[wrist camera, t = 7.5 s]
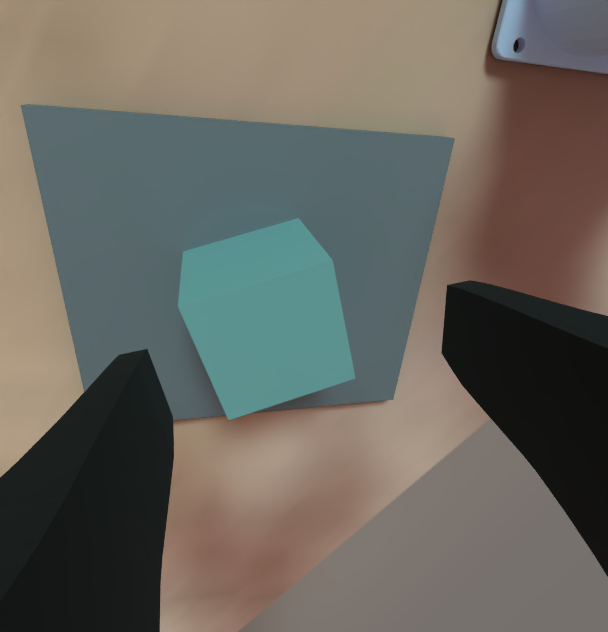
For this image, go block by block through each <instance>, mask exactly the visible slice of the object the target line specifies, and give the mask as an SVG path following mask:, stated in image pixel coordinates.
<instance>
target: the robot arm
mask: <svg viewBox="0 0 608 632" xmlns="http://www.w3.org/2000/svg"><path fill="white" fill-rule="evenodd" d="M515 40H518V43H519V44H518V49H517V51H516V52H514V49H513V45H514V43H515ZM491 49H492V54H493V56H494V57H495V58H497V59H499V60H507V61H514V62H521V63H529V64H536V65H544V66H551V67H558V68H566V69H573V70H581V71H588V72H596V73H603V74H608V0H503V1H502V5H501V9H500V13H499V17H498V21H497V25H496V29H495V33H494V37H493V41H492V48H491ZM442 354H443V356H444V358H445V359H446V361H447V363H448V364H449V366H450V367H451V369H452V371H453V372H454V374H455V375H456V377H457V378H458V380H459V381H460V382H461V384H462V385H463V386H464V388H465V389H466V390H467V391H468V392H469V394H470V395H471V396H472V397H473V398H474V399H475V401H476V402H477V403H478V404H479V405H480V406H481V408H482V409H483V410H484V411H485V412H486V413H487V414H488V416H489V417H490V418H491V419H492V420H493V421H494V422H495V424H496V425H497V426H498V427H499V428H500V429H501V430H502V432H503V433H504V434H505V435H506V436H507V437H508V438H509V440H510V441H511V442H512V443H513V444H514V445H515V446H516V448H517V449H518V450H519V451H520V452H521V453H522V454H523V455H524V457H525V458H526V459H527V461H528V462H529V463H530V464H531V465H532V467H533V468H534V469H535V470H536V472H537V473H538V474H539V476H540V477H541V479H542V480H543V481H544V483H545V484H546V485H547V487H548V488H549V490H550V491H551V492H552V494H553V495H554V497H555V498H556V500H557V501H558V502H559V504H560V505H561V506H562V508H563V509H564V511H565V512H566V514H567V515H568V517H569V518H570V520H571V521H572V523H573V524H574V526H575V527H576V528H577V530H578V532H579V533H580V535H581V536H582V538H583V539H584V541H585V542H586V543H587V545H588V546H589V548H590V549H591V551H592V552H593V554H594V555H595V557H596V559H597V560H598V562H599V563H600V565H601V567H602V568H603V570H604V571H605V573H606V575H607V576H608V316H605V315H601V314H597V313H593V312H589V311H585V310H581V309H577V308H574V307H570V306H566V305H563V304H559V303H555V302H552V301H548V300H545V299H541V298H538V297H534V296H531V295H527V294H524V293H520V292H517V291H513V290H509V289H506V288H502V287H498V286H494V285H490V284H486V283H481V282H476V281H465V282H460V283H456V284H451V285H447V293H446V305H445V318H444V330H443V342H442ZM173 459H174V435H173V415H172V413H171V410H170V407H169V405H168V402H167V399H166V397H165V394H164V391H163V389H162V386H161V384H160V381H159V378H158V376H157V373H156V370H155V368H154V365H153V362H152V360H151V357H150V354H149V352H148V349H144V350H139V351H134V352H130V353H125V354H120V355H118V356H117V357H116V358H115V359H114V360H113V361H112V362H111V363H110V364H109V365H108V366H107V368H106V369H105V370H104V371H103V372H102V373H101V374H100V375H99V376H98V378H97V379H96V380H95V381H94V382H93V383H92V384H91V385H90V387H89V388H88V389H87V390H86V391H85V392H84V393H83V394H82V395H81V396H80V398H79V399H78V400H77V401H76V402H75V403H74V404H73V405H72V406H71V407H70V409H69V410H68V411H67V412H66V413H65V414H64V415H63V416H62V417H61V418H60V419H59V420H58V421H57V422H56V423H55V424H54V425H53V426H52V427H51V428H50V430H49V431H48V432H47V433H46V434H45V435H44V436H43V437H42V438H41V439H40V440H39V441H38V442H37V443H36V444H35V445H34V446H33V447H32V448H31V449H30V450H29V451H28V452H27V453H26V454H25V455H24V456H23V457H22V458H21V459H20V460H19V461H18V462H17V463H16V464H14V465H13V466H12V467H11V468H10V469H9V470H8V471H7V472H6V473H5V474H4V475H3V476H2V477H0V632H160V581H161V568H162V555H163V547H164V538H165V530H166V521H167V513H168V504H169V496H170V487H171V478H172V469H173Z"/></svg>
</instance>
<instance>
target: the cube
mask: <svg viewBox="0 0 608 632" xmlns="http://www.w3.org/2000/svg"><path fill="white" fill-rule="evenodd" d="M178 308H179V310H180V313H181V315H182V317H183V319H184V322H185V324H186V326H187V328H188V331H189V333H190V335H191V337H192V340H193V342H194V344H195V346H196V349H197V351H198V353H199V355H200V358H201V360H202V362H203V364H204V367H205V369H206V371H207V373H208V376H209V378H210V380H211V382H212V385H213V387H214V389H215V391H216V394H217V396H218V398H219V400H220V403H221V405H222V407H223V409H224V412H225V414H226V416H227V418H228V420H231V419H234V418H237V417H240V416H243V415H247V414H250V413H253V412H256V411H259V410H262V409H265V408H268V407H271V406H274V405H277V404H280V403H283V402H286V401H289V400H292V399H295V398H298V397H301V396H304V395H307V394H310V393H313V392H316V391H319V390H322V389H325V388H328V387H331V386H334V385H337V384H340V383H343V382H346V381H349V380H352V379H355V373H354V368H353V363H352V357H351V352H350V347H349V342H348V337H347V332H346V327H345V321H344V316H343V311H342V306H341V301H340V296H339V290H338V285H337V280H336V275H335V270H334V265H333V260H332V259H331V257H330V256H329V255H328V254H327V252H326V251H325V250H324V249H323V248H322V246H321V245H320V244H319V243H318V241H317V240H316V239H315V238H314V236H313V235H312V234H311V233H310V231H309V230H308V229H307V228H306V227H305V225H304V224H303V223H302V222H301V220H300V219H299V218H297V219H294V220H290V221H287V222H283V223H280V224H276V225H273V226H269V227H266V228H263V229H259V230H256V231H252V232H249V233H245V234H242V235H238V236H235V237H232V238H228V239H225V240H221V241H218V242H214V243H211V244H207V245H204V246H200V247H197V248H194V249H190V250H187V251H183V256H182V267H181V278H180V289H179V299H178Z"/></svg>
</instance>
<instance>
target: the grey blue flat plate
mask: <svg viewBox="0 0 608 632" xmlns="http://www.w3.org/2000/svg"><path fill="white" fill-rule="evenodd" d="M21 108H22V113H23V117H24V122H25V126H26V131H27V135H28V140H29V144H30V149H31V153H32V158H33V162H34V167H35V171H36V176H37V180H38V185H39V189H40V194H41V198H42V203H43V207H44V212H45V216H46V221H47V225H48V230H49V235H50V239H51V244H52V248H53V253H54V257H55V262H56V266H57V271H58V275H59V280H60V284H61V289H62V293H63V298H64V302H65V307H66V311H67V316H68V320H69V325H70V329H71V334H72V338H73V343H74V347H75V352H76V356H77V361H78V365H79V370H80V374H81V379H82V383H83V388H84V392H85V391H86V390H87V389H88V388H89V387H90V385H91V384H92V383H93V382H94V381H95V380H96V379H97V378H98V376H99V375H100V374H101V373H102V372H103V371H104V370H105V369H106V368H107V366H108V365H109V364H110V363H111V362H112V361H113V360H114V359H115V358H116V357H117V356H118V355H120V354H125V353H130V352H134V351H139V350H144V349H148V352H149V354H150V357H151V360H152V362H153V365H154V368H155V370H156V373H157V376H158V378H159V381H160V384H161V386H162V389H163V391H164V394H165V397H166V399H167V402H168V405H169V407H170V410H171V413H172V415H173V420H181V419H192V418H203V417H213V416H224V415H226V414H225V412H224V409H223V407H222V405H221V403H220V400H219V398H218V396H217V394H216V391H215V389H214V387H213V385H212V382H211V380H210V378H209V376H208V373H207V371H206V369H205V367H204V364H203V362H202V360H201V358H200V355H199V353H198V351H197V349H196V346H195V344H194V342H193V340H192V337H191V335H190V333H189V331H188V328H187V326H186V324H185V322H184V319H183V317H182V315H181V313H180V310H179V308H178V299H179V289H180V278H181V267H182V256H183V251H187V250H190V249H194V248H197V247H200V246H204V245H207V244H211V243H214V242H218V241H221V240H225V239H228V238H232V237H235V236H238V235H242V234H245V233H249V232H252V231H256V230H259V229H263V228H266V227H269V226H273V225H276V224H280V223H283V222H287V221H290V220H294V219H297V218H299V219H300V220H301V222H302V223H303V224H304V225H305V227H306V228H307V229H308V230H309V231H310V233H311V234H312V235H313V236H314V238H315V239H316V240H317V241H318V243H319V244H320V245H321V246H322V248H323V249H324V250H325V251H326V252H327V254H328V255H329V256H330V257H331V259H332V260H333V265H334V270H335V275H336V280H337V285H338V290H339V296H340V301H341V306H342V311H343V316H344V321H345V327H346V332H347V337H348V342H349V347H350V352H351V357H352V363H353V368H354V373H355V379H352V380H349V381H346V382H343V383H340V384H337V385H334V386H331V387H328V388H325V389H322V390H319V391H316V392H313V393H310V394H307V395H304V396H301V397H298V398H295V399H292V400H289V401H286V402H283V403H280V404H277V405H274V406H271V407H268V408H265V409H262V410H259V411H256V412H267V411H277V410H288V409H299V408H309V407H320V406H331V405H341V404H352V403H363V402H373V401H384V400H393V398H394V393H395V389H396V385H397V381H398V376H399V372H400V368H401V364H402V359H403V355H404V351H405V347H406V343H407V338H408V334H409V330H410V326H411V321H412V317H413V313H414V309H415V304H416V300H417V296H418V292H419V288H420V283H421V279H422V275H423V271H424V266H425V262H426V258H427V254H428V249H429V245H430V241H431V237H432V233H433V228H434V224H435V220H436V216H437V211H438V207H439V203H440V199H441V195H442V190H443V186H444V182H445V178H446V173H447V169H448V165H449V161H450V156H451V152H452V148H453V144H454V140H455V139H454V138H448V137H439V136H426V135H413V134H401V133H388V132H375V131H362V130H350V129H337V128H324V127H311V126H298V125H286V124H273V123H260V122H247V121H235V120H222V119H209V118H196V117H183V116H171V115H158V114H145V113H132V112H119V111H107V110H94V109H81V108H68V107H56V106H43V105H30V104H29V105H21ZM256 412H253V413H256Z"/></svg>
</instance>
